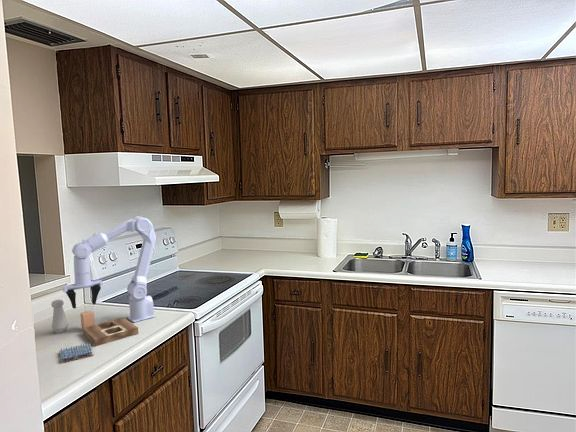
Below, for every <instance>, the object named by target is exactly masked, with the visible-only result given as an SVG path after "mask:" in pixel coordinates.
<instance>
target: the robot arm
mask: <svg viewBox="0 0 576 432" xmlns="http://www.w3.org/2000/svg"><path fill="white" fill-rule="evenodd" d="M127 232H134V233H135V232H137V233H138V234H139V235H140V237H141V238H142V243H141V244H142V245H141V248H140V251H139V256H138V260H137V264H136V268H135V271H134V275H133V276H132V278H131V280H130V282H129V283H128V284H127V288H126V289H127V293H128V294H129V298H128V306H129V316H127V317H126V319H128V321H129V320H130V322H131V323H137V322H142V321H144V320H149V319H152V318H155V317H156V315H155V306H154V300H153V297H152V296H151V295H147V294H148V289H147V284H148V281H147V277H148V273H149V269H150V265H151V261H152V258H153V252H154V249H155V245H156V240H157V235H156V232H155V229H154V224H153V223H152V221H150V220H149V219H148V218H146V217H142V216H141V215H140V216H139V215H137V216H134V217H133V218H129V219H128V220H125V221H123V222H122V223H120V224H119V225H117V226H115V227H113V228H111V229H110V230H108V231H107V232H98V233H97V232H94V233H93V234H92V235H93V236H92V235H91V236H90V237H89V238H87V239H82V240H81V242H77V243H75V244H74V245H73V247H72V249H71V251H72V254H73V260H74V261H73V272H74V283H71V284H68V285H63V286H62V291H63V292H64V293H65V294H66V296H67V297H68V298H69V301H70V303H71V306H72V308H73V309H77V303H76V297H77V295H76V294H77V293H76V292H75V290H81V289H86V288H90V292H91V303H92V304H93V305H96V304H97V299H98V295H99V294H100V292H101V289H102V287H101V286H103V280H101V279H98V280H92V279H91V278H92V277H91V264H90V263H91V262H90V254H91V253H94V252H96V251H98V250H100V249H101V248H103V247H105V246H107V245H108V242H109V241H110V240H112V239H115V238H116V237H118V236H120V235H122V234H125V233H127Z"/></svg>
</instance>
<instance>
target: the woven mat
mask: <svg viewBox="0 0 576 432" xmlns="http://www.w3.org/2000/svg"><path fill="white" fill-rule="evenodd" d="M58 352H59V357H60V359H59V360H60V363H61V364H65V363H68V362H73V361H75V360H81V359H85V358H88V357H93V356H94V355H95V354H94V352H93V348H92V346H91V343H85V344H79V345H75V346H73V347H72V346H70V347H68V348H67V347H65V348H63V349H62V348H60V350H59V351H58Z"/></svg>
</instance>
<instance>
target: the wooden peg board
mask: <svg viewBox="0 0 576 432" xmlns="http://www.w3.org/2000/svg"><path fill="white" fill-rule="evenodd" d="M127 319H128V318H126V317H120V318H115V319H111V320H108V321H105V322H101V323H97V324H95V325H93V326H89V327H85V328H83V330H82V333H83V334H82V335H84V337H86V338H87V340H89V342H91V343H92V344H93V345H94V346H95V347H97V346H102V345H105V344H108V343H111V342H114V341H118V340H121V339H125V338H128V337H132V336H135V335H139V333H140V332H139V327H138V326H137V325H135V324H134V323H133V322H132V321H129V319H128V320H127Z"/></svg>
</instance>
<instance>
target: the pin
mask: <svg viewBox="0 0 576 432" xmlns="http://www.w3.org/2000/svg"><path fill="white" fill-rule="evenodd" d="M79 316H80V323H81V330H82V331H83V328H85V327H89V326H93V325H96V324H95V315H94V312H93V311H92V310H87V311H83V312H80V314H79Z"/></svg>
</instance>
